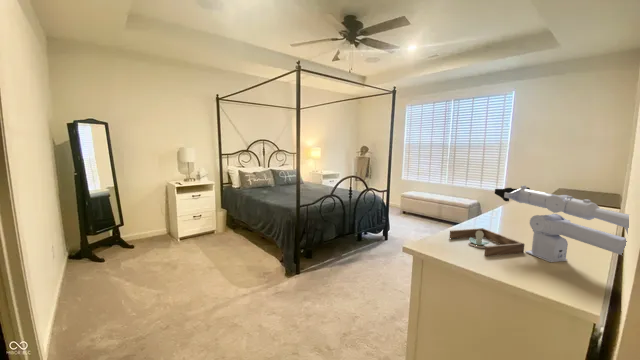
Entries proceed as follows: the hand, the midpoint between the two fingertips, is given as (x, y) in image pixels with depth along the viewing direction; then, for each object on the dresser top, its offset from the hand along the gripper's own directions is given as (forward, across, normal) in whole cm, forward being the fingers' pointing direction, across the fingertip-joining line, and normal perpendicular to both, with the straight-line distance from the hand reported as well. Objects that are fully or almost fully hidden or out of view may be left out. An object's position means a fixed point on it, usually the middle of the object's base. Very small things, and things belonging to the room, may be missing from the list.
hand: (502, 191), depth 118 cm
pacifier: (-6, +15, +22) cm, 27 cm away
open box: (-6, +12, +21) cm, 25 cm away
